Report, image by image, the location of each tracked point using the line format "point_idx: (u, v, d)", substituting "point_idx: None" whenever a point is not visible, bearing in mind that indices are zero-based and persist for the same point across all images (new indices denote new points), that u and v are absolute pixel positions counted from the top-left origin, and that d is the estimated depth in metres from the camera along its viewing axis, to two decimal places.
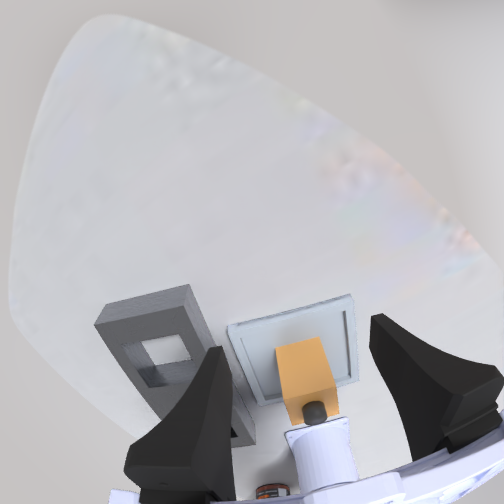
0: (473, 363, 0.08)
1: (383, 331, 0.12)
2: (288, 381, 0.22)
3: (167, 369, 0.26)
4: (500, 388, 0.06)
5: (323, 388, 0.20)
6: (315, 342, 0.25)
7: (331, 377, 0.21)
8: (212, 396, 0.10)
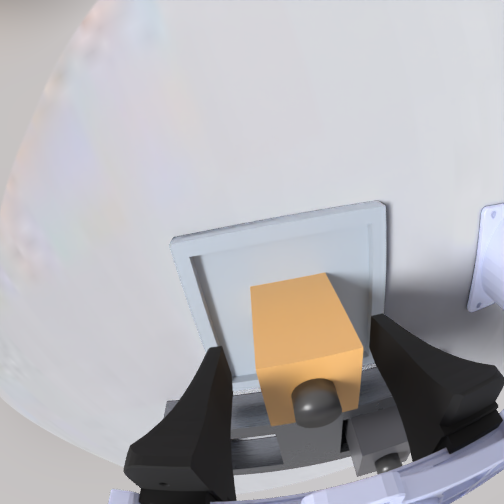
0: (473, 363, 0.08)
1: (383, 331, 0.12)
2: None
3: None
4: (500, 388, 0.06)
5: None
6: None
7: None
8: (213, 396, 0.10)
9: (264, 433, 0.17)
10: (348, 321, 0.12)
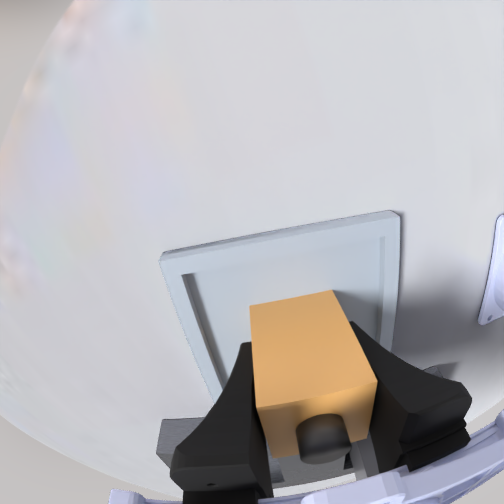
0: (438, 378, 0.08)
1: None
2: None
3: None
4: (467, 406, 0.06)
5: (260, 420, 0.09)
6: None
7: (255, 388, 0.10)
8: (253, 391, 0.10)
9: None
10: (360, 350, 0.10)
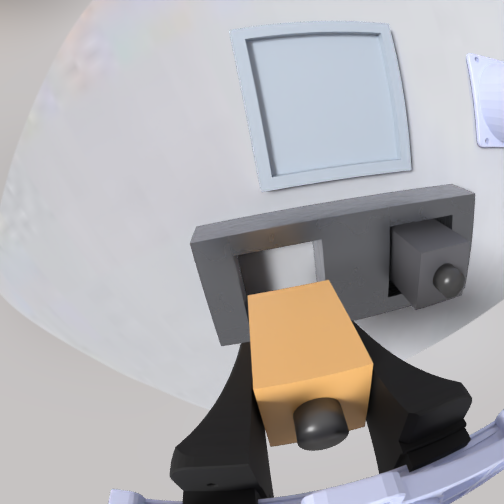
0: (438, 378, 0.08)
1: None
2: None
3: (318, 277, 0.21)
4: (467, 406, 0.06)
5: (258, 404, 0.09)
6: None
7: (252, 371, 0.10)
8: (253, 391, 0.10)
9: (310, 237, 0.18)
10: (356, 334, 0.10)
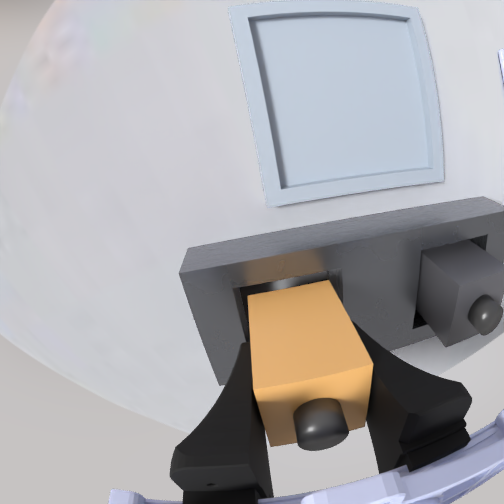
0: (438, 378, 0.08)
1: None
2: None
3: None
4: (467, 406, 0.06)
5: (258, 404, 0.09)
6: None
7: (252, 372, 0.10)
8: (253, 391, 0.10)
9: (327, 265, 0.14)
10: (356, 334, 0.10)
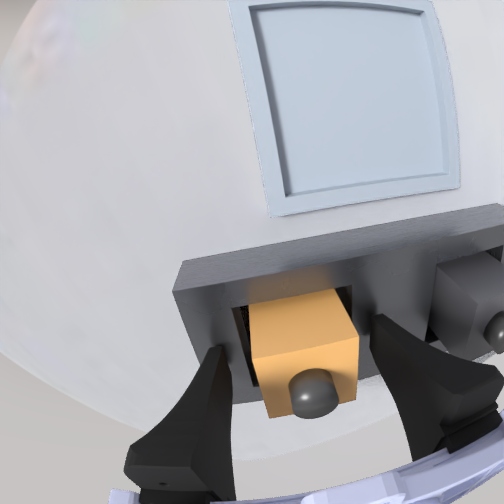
0: (473, 363, 0.08)
1: (383, 331, 0.12)
2: None
3: None
4: (500, 388, 0.06)
5: (256, 374, 0.11)
6: None
7: (251, 345, 0.11)
8: (212, 396, 0.10)
9: (337, 282, 0.13)
10: (344, 311, 0.12)
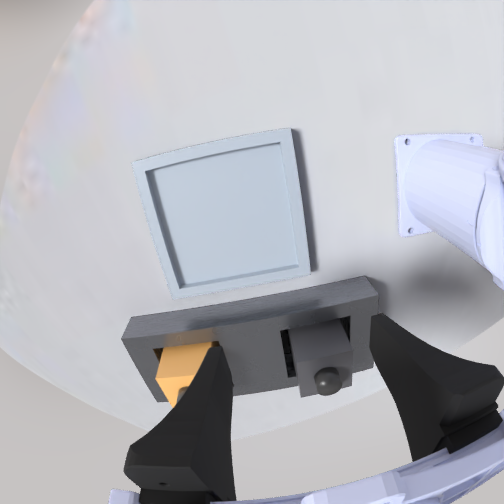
0: (473, 363, 0.08)
1: (383, 331, 0.12)
2: None
3: None
4: (500, 388, 0.06)
5: (160, 386, 0.20)
6: None
7: (158, 370, 0.20)
8: (212, 396, 0.10)
9: (208, 339, 0.22)
10: None
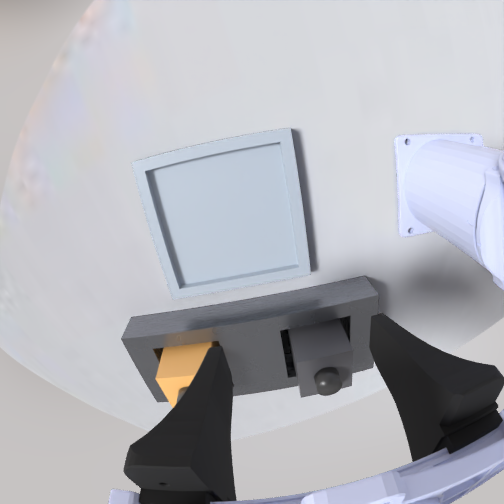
0: (473, 363, 0.08)
1: (383, 331, 0.12)
2: None
3: None
4: (500, 388, 0.06)
5: (160, 386, 0.20)
6: None
7: (158, 370, 0.20)
8: (212, 396, 0.10)
9: (208, 339, 0.22)
10: None
